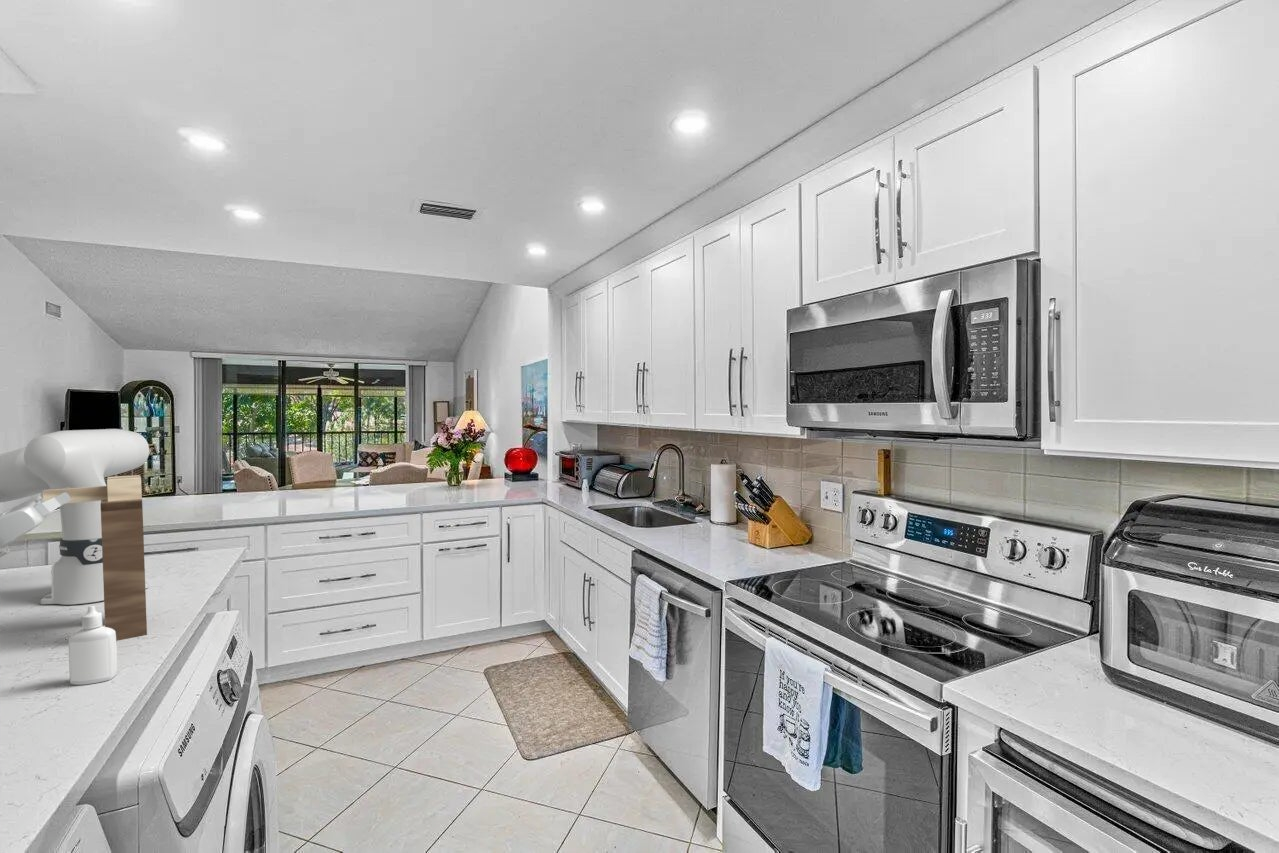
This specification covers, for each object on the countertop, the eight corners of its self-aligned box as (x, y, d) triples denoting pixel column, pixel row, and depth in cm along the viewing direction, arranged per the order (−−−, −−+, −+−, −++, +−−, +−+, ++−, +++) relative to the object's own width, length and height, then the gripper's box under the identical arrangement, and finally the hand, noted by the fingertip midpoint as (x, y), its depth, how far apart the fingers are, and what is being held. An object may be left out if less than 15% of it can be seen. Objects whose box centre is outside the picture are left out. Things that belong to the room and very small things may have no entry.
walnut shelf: (106, 622, 124) (102, 496, 124) (144, 616, 128) (140, 493, 127) (105, 642, 114) (100, 503, 113) (146, 634, 118) (142, 500, 117)
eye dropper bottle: (93, 687, 95) (90, 611, 95) (65, 684, 96) (62, 609, 96) (122, 675, 99) (119, 602, 99) (94, 672, 100) (92, 600, 100)
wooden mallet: (45, 501, 116) (45, 480, 116) (140, 494, 125) (140, 475, 125) (41, 506, 110) (40, 484, 110) (141, 498, 119) (141, 478, 119)
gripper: (2, 542, 117) (85, 500, 124) (-16, 562, 101) (80, 512, 109) (-24, 516, 115) (62, 474, 122) (-46, 532, 99) (54, 483, 107)
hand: (70, 492), depth 115 cm, fingers open, 8 cm apart
